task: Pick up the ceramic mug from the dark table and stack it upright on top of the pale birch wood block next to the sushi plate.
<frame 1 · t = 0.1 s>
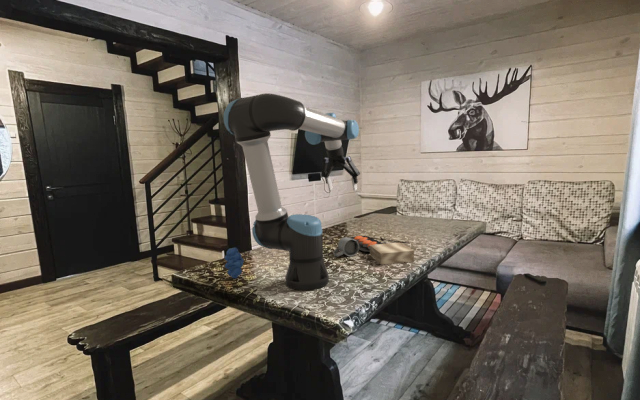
hand: (343, 189, 160), 28 cm above the table, tool tilted 20°, fingers open, 13 cm apart
grapes: (237, 278, 124), on the table
ceramic mug: (345, 255, 148), on the table
birch block: (391, 259, 140), on the table
sushi plate: (379, 245, 165), on the table
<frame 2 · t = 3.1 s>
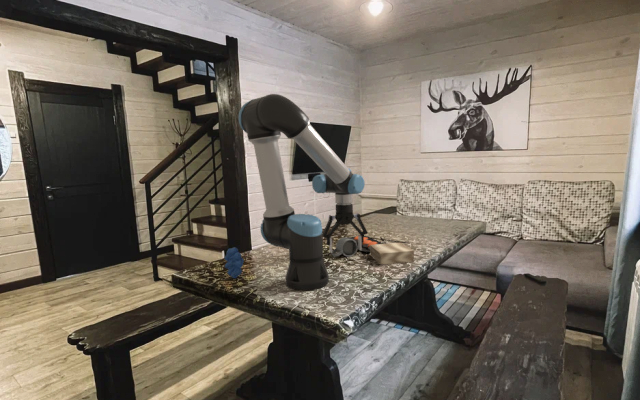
hand: (345, 251, 148), 2 cm above the table, tool pointing down, fingers open, 13 cm apart
ceramic mug: (343, 255, 148), on the table, touching gripper
everything else where it was.
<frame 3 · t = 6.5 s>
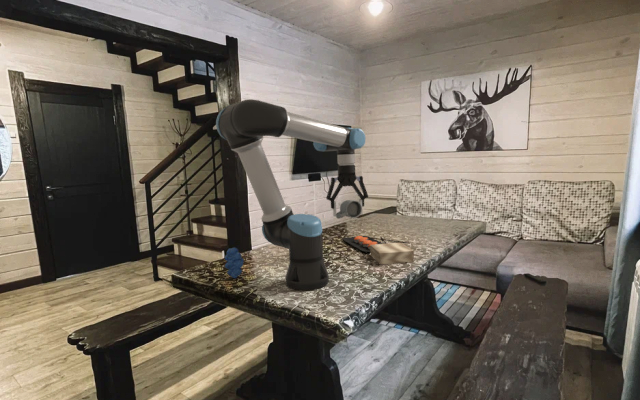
hand: (347, 215, 145), 18 cm above the table, tool pointing down, fingers closed on ceramic mug, 11 cm apart
ceramic mug: (348, 217, 145), point 17 cm above the table, touching gripper
everything else where it was.
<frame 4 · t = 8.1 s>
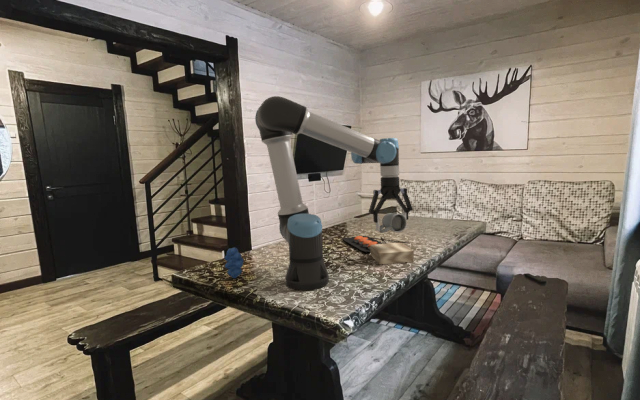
hand: (391, 228, 138), 13 cm above the table, tool pointing down, fingers closed on ceramic mug, 11 cm apart
ceramic mug: (391, 231, 139), point 11 cm above the table, touching gripper
everything else where it was.
when the fingers open (7 cm above the table, at t = 9.5 s): ceramic mug drops 2 cm, point 4 cm above the table.
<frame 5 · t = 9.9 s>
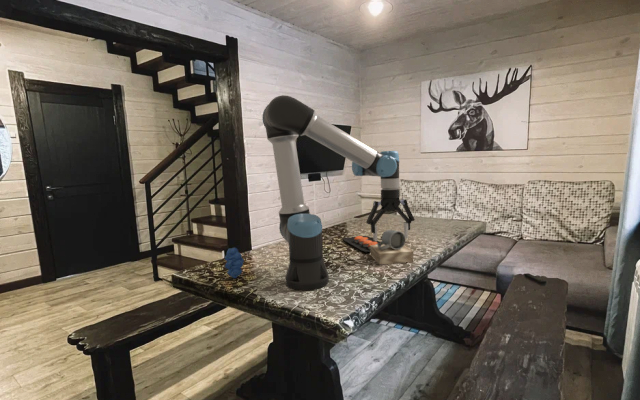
hand: (390, 239, 139), 8 cm above the table, tool pointing down, fingers open, 13 cm apart
ceramic mug: (390, 248, 139), point 4 cm above the table
everything else where it was.
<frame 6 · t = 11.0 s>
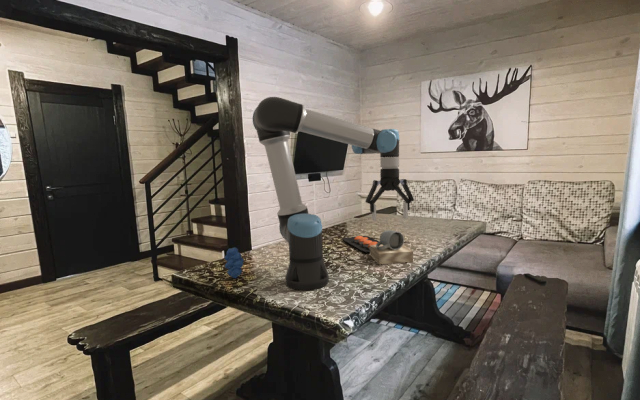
hand: (389, 219, 138), 17 cm above the table, tool pointing down, fingers open, 13 cm apart
ceramic mug: (388, 249, 139), point 4 cm above the table, touching birch block
birch block: (390, 259, 140), on the table, touching ceramic mug
everything else where it was.
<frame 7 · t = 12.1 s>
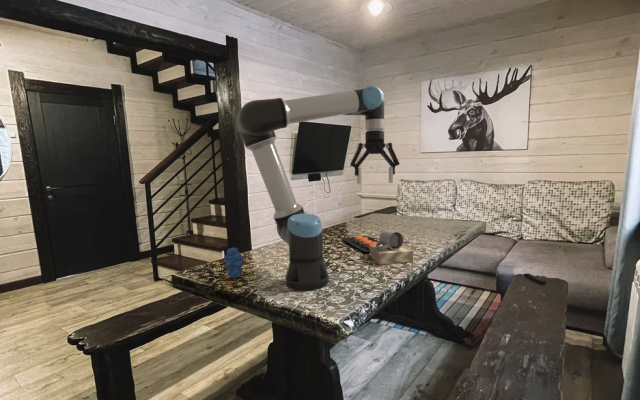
hand: (374, 183, 136), 32 cm above the table, tool pointing down, fingers open, 13 cm apart
nothing on the table moved.
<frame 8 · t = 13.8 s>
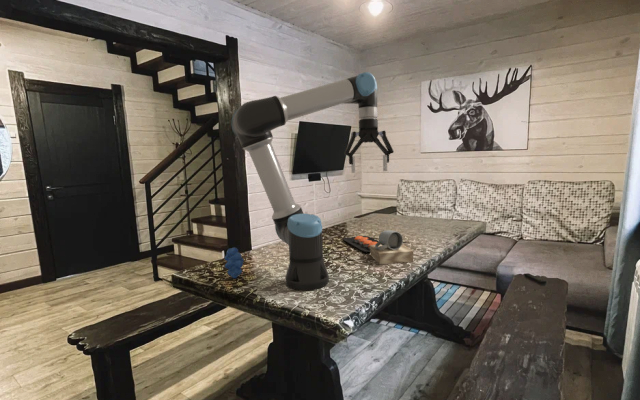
hand: (369, 171, 136), 37 cm above the table, tool pointing down, fingers open, 13 cm apart
nothing on the table moved.
at the end: ceramic mug inside the target area on the birch block (1.6 cm from its centre), point 4.8 cm above the birch block's base; ceramic mug tilted 1°; ceramic mug touching birch block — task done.
